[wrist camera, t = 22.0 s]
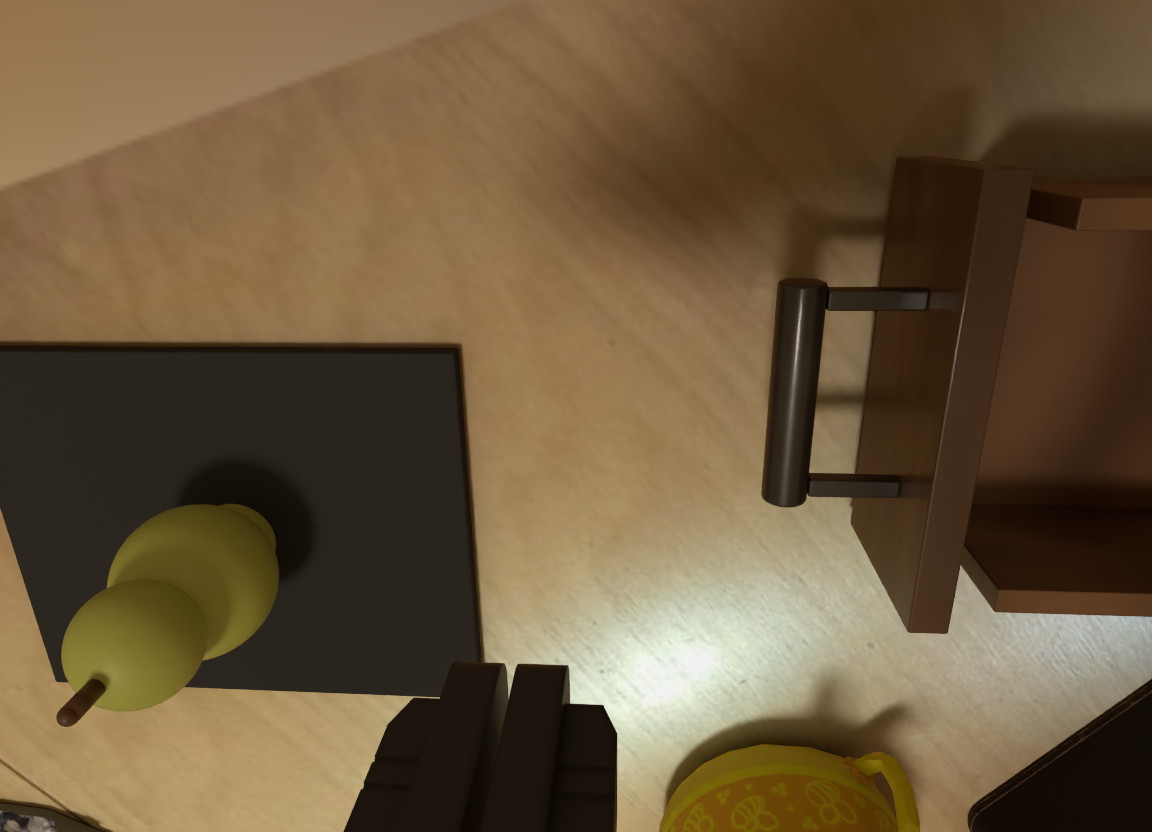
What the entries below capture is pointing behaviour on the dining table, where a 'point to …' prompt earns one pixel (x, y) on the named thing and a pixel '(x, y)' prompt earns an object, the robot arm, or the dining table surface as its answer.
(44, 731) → the dining table surface
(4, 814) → the tree stump
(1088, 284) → the drawer
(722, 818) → the mug
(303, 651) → the mat
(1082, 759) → the camera
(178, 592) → the pear
